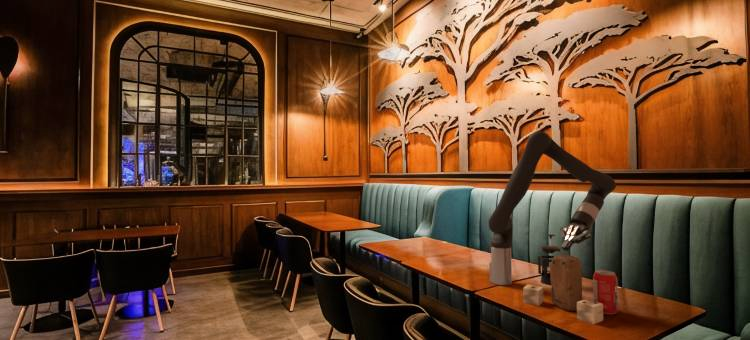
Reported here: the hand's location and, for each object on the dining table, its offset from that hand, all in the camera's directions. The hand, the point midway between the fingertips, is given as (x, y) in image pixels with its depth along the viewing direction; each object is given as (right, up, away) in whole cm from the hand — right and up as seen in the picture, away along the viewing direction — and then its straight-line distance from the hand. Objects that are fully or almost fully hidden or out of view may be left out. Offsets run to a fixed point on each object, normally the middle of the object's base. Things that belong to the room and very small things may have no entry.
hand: (564, 249), depth 144 cm
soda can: (+13, -23, -6) cm, 27 cm away
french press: (+10, -23, +32) cm, 41 cm away
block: (0, -23, 0) cm, 23 cm away
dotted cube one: (-10, -23, +6) cm, 25 cm away
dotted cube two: (+3, -22, -13) cm, 26 cm away
